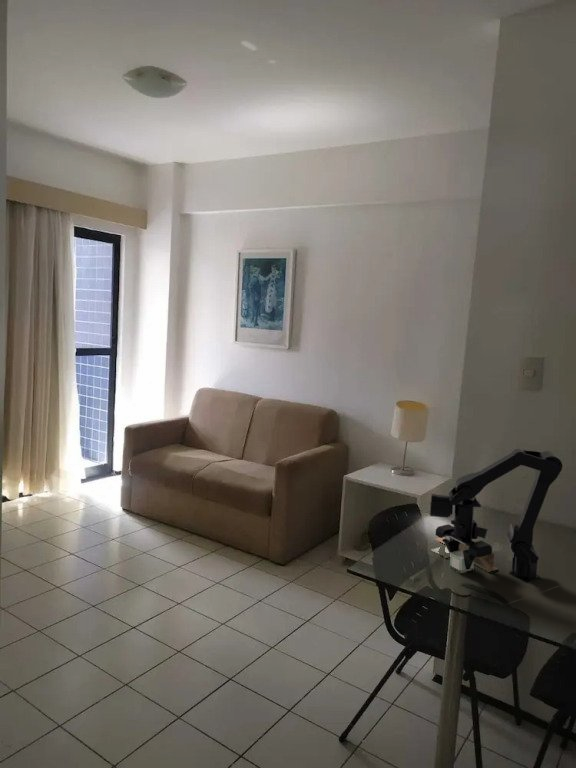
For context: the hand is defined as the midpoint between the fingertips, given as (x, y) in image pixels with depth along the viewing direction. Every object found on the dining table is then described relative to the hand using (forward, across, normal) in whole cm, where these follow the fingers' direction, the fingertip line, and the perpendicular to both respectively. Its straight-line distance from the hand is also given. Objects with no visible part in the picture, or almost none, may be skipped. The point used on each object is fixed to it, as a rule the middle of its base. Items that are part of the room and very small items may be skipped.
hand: (461, 565), depth 180 cm
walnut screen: (+1, +1, -6) cm, 7 cm away
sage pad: (+1, +11, -4) cm, 12 cm away
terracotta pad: (+1, +17, -11) cm, 20 cm away
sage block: (+1, 0, 0) cm, 1 cm away
